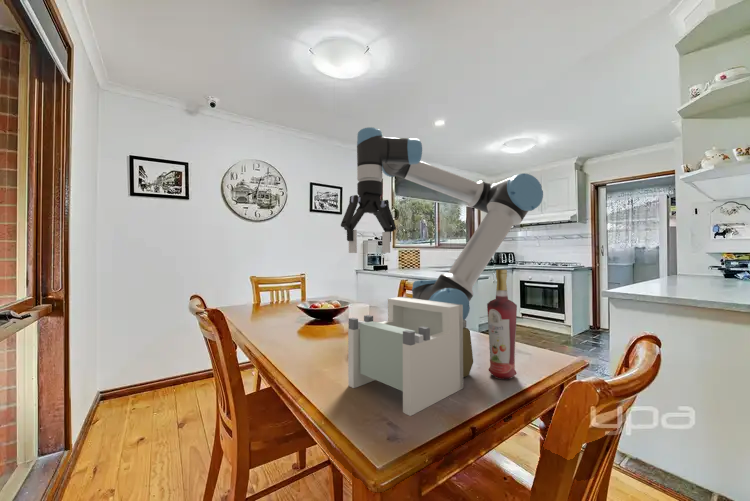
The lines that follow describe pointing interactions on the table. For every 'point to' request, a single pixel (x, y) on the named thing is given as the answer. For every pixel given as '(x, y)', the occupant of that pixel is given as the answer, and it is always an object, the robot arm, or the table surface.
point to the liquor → (502, 330)
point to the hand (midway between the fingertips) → (370, 252)
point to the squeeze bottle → (467, 351)
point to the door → (383, 352)
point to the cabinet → (419, 350)
